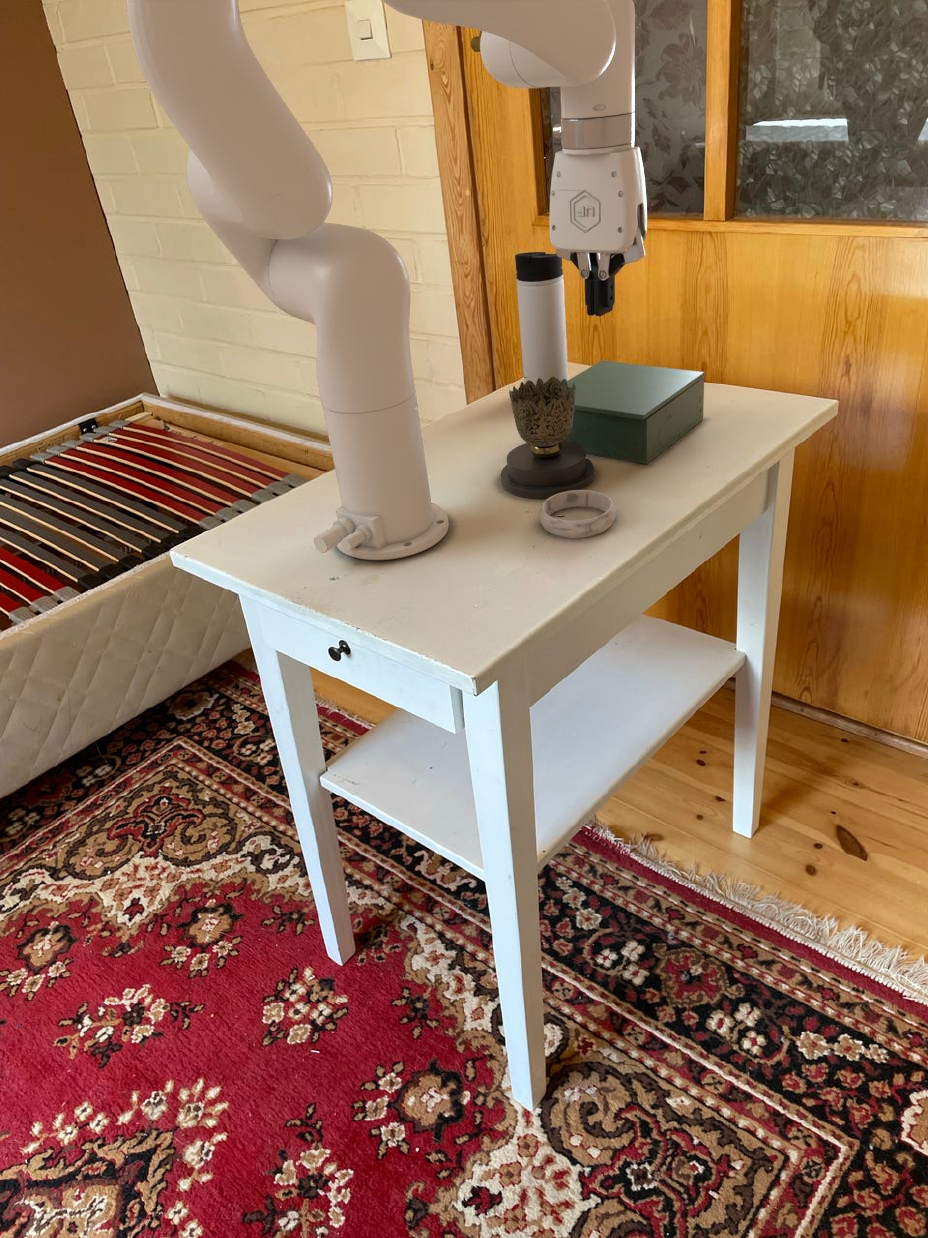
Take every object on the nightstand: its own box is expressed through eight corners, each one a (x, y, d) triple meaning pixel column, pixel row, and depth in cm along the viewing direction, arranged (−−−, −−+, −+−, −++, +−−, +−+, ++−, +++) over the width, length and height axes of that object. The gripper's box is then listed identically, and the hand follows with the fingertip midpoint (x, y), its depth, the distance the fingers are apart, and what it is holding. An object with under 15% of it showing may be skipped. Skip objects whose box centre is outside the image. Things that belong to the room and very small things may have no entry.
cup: (503, 452, 111) (497, 386, 106) (558, 436, 113) (554, 371, 108) (533, 473, 105) (528, 404, 100) (590, 456, 107) (588, 388, 103)
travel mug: (514, 401, 133) (502, 254, 122) (542, 386, 137) (533, 243, 126) (550, 408, 129) (541, 257, 119) (577, 392, 133) (571, 245, 123)
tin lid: (643, 420, 107) (643, 415, 106) (535, 403, 115) (535, 399, 115) (704, 376, 117) (704, 371, 117) (601, 364, 125) (601, 360, 125)
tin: (647, 464, 110) (646, 419, 107) (542, 446, 119) (539, 403, 116) (703, 419, 120) (704, 376, 117) (603, 405, 128) (601, 364, 125)
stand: (562, 506, 104) (560, 481, 102) (482, 488, 110) (480, 465, 108) (611, 467, 111) (611, 444, 109) (534, 453, 117) (532, 430, 115)
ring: (564, 499, 105) (563, 483, 104) (629, 512, 101) (629, 495, 100) (525, 530, 100) (524, 513, 99) (592, 545, 95) (591, 528, 94)
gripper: (518, 141, 100) (528, 316, 109) (645, 137, 92) (642, 327, 101) (556, 132, 105) (562, 300, 114) (679, 128, 96) (674, 309, 106)
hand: (600, 312), depth 108 cm, fingers closed
